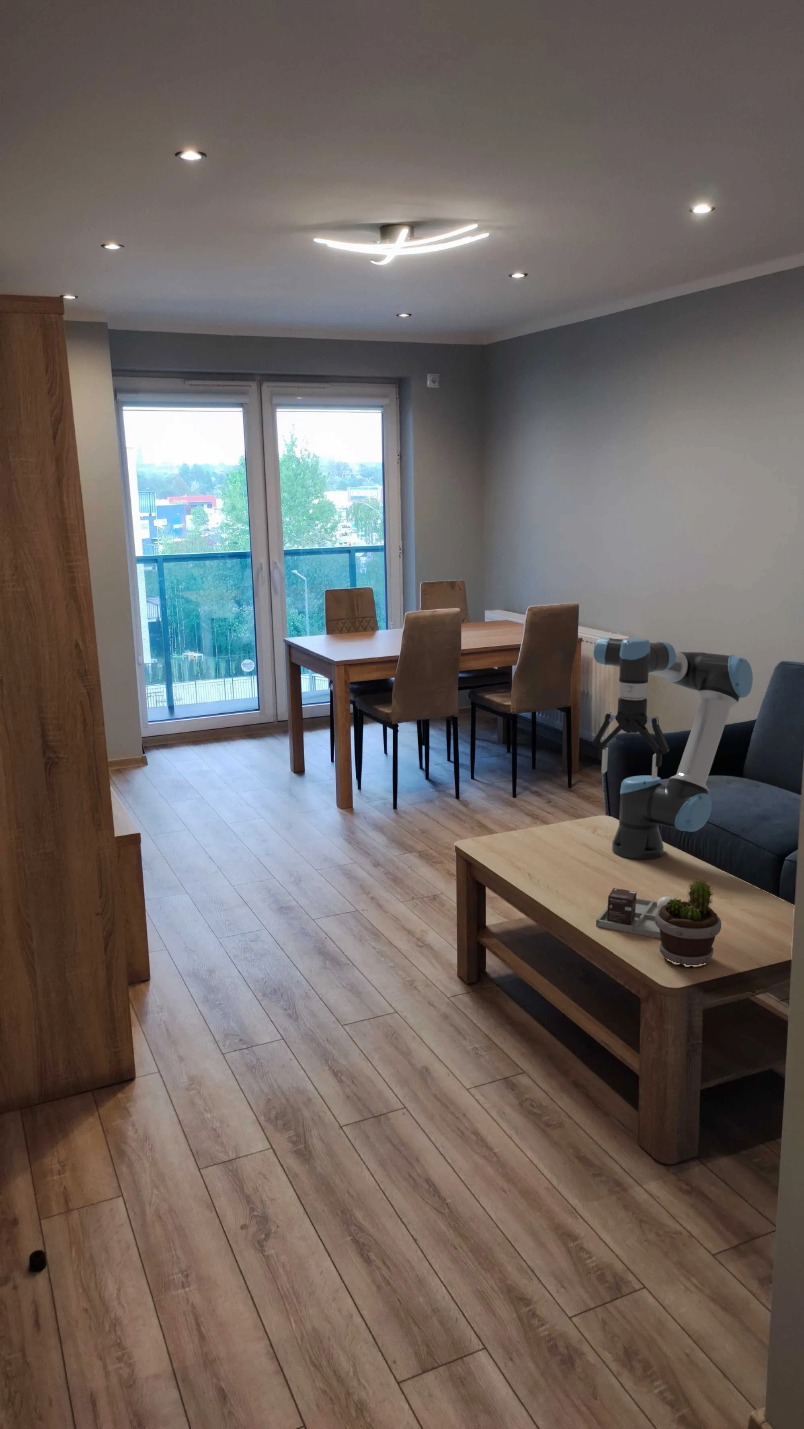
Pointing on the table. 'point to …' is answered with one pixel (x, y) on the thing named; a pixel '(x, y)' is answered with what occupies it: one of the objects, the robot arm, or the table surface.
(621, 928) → the egg tray
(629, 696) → the robot arm
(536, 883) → the table surface
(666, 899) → the egg
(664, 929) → the flowerpot
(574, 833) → the table surface
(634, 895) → the box
